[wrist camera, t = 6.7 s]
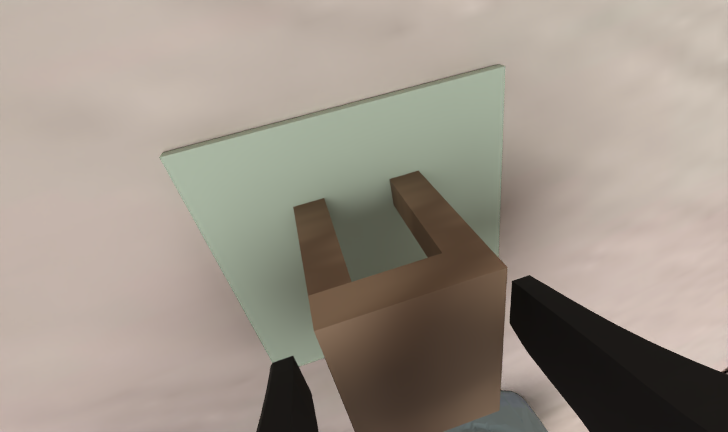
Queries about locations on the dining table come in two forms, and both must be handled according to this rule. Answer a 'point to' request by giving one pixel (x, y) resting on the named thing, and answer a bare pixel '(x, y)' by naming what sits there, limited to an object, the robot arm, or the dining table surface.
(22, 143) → the dining table surface
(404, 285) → the stool
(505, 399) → the green plant pot
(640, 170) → the dining table surface
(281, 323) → the mat
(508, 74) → the dining table surface
